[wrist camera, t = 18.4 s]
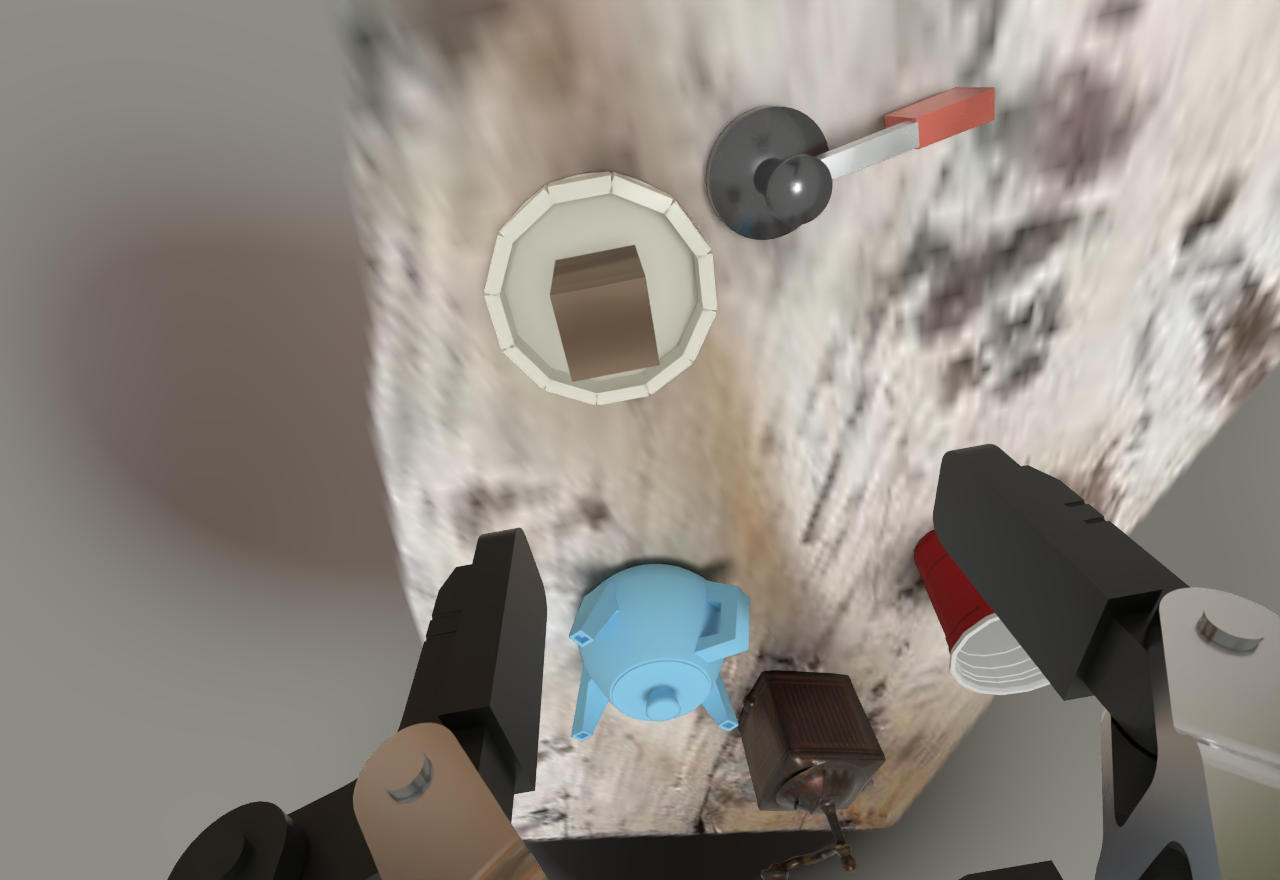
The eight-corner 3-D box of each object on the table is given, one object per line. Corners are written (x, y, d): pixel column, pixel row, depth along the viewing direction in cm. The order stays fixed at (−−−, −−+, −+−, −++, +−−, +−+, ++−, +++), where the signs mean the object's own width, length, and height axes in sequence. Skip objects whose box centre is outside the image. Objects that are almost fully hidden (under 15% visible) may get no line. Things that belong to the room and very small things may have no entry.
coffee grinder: (757, 668, 60) (816, 865, 45) (850, 673, 62) (938, 864, 47) (718, 748, 68) (757, 939, 53) (802, 750, 70) (863, 935, 55)
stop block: (555, 260, 34) (549, 295, 28) (634, 244, 34) (645, 277, 28) (573, 335, 37) (572, 381, 31) (647, 321, 37) (660, 365, 31)
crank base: (682, 165, 33) (703, 181, 27) (782, 76, 31) (828, 73, 25) (746, 257, 36) (777, 289, 30) (841, 181, 34) (893, 200, 28)
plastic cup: (897, 506, 49) (979, 615, 39) (1015, 496, 49) (1126, 601, 39) (874, 592, 55) (939, 706, 45) (980, 582, 55) (1068, 693, 45)
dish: (445, 278, 35) (436, 290, 33) (614, 115, 31) (616, 117, 29) (593, 420, 42) (594, 439, 39) (748, 300, 38) (758, 313, 35)
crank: (795, 179, 33) (817, 189, 30) (790, 152, 32) (812, 159, 29) (956, 116, 32) (996, 119, 29) (955, 87, 31) (996, 87, 28)
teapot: (717, 655, 58) (743, 760, 49) (572, 662, 57) (571, 771, 48) (738, 546, 50) (773, 648, 41) (570, 551, 48) (567, 657, 39)
